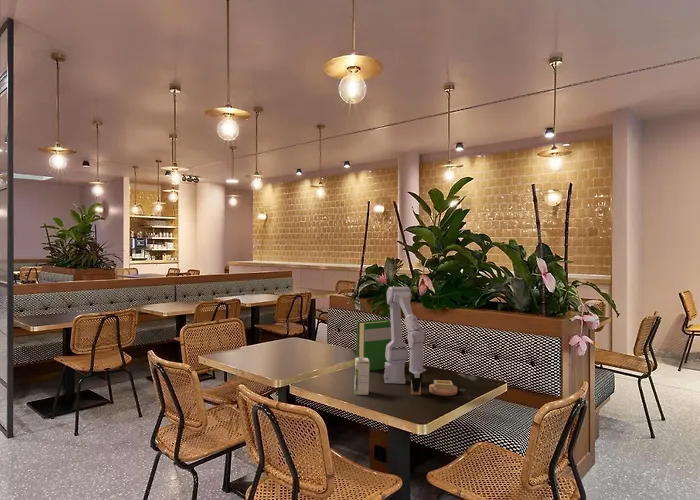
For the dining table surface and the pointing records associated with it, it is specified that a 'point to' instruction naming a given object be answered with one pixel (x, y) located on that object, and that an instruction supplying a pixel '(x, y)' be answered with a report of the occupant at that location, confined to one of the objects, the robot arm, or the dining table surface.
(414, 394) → the tall wooden block
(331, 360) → the dining table surface
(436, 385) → the tan rounded piece
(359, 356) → the hardback book
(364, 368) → the syrup box
